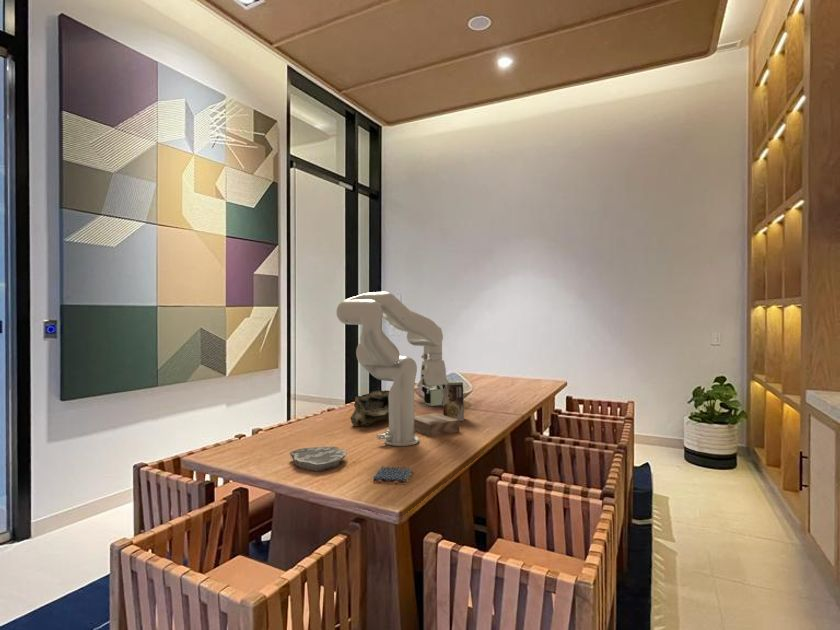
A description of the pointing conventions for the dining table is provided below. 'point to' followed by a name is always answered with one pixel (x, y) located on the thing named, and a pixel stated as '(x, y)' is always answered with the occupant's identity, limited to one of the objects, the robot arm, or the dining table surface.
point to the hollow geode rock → (370, 408)
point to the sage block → (435, 397)
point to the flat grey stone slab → (318, 457)
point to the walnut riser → (435, 424)
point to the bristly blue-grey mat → (393, 475)
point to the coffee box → (453, 400)
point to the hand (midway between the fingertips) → (433, 401)
